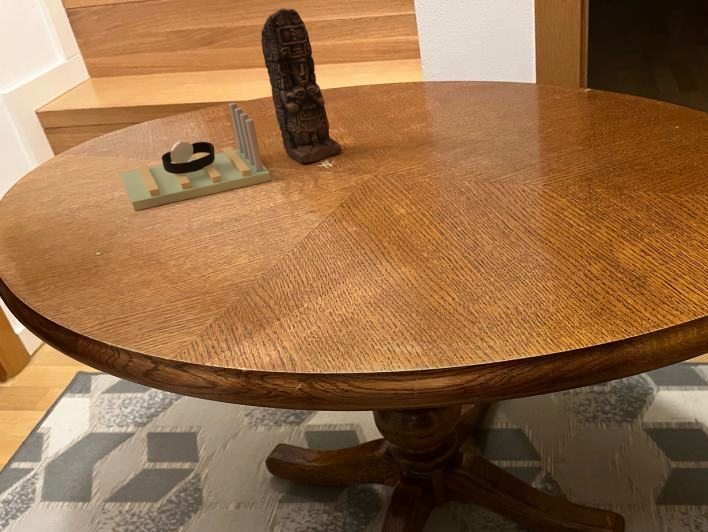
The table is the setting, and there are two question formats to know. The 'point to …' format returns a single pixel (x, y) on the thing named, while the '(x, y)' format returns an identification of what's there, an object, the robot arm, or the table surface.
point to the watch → (187, 157)
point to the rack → (201, 171)
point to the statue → (296, 88)
